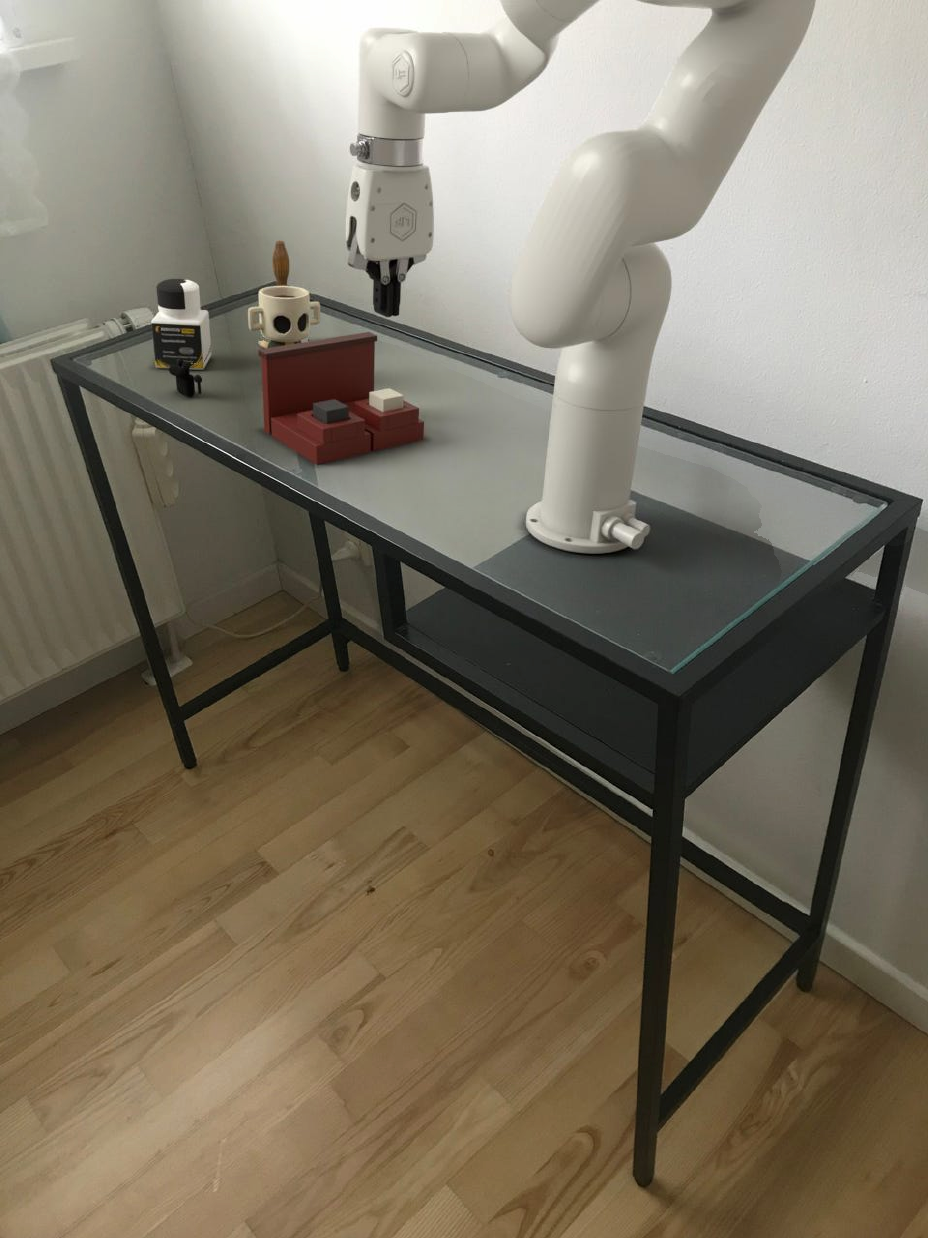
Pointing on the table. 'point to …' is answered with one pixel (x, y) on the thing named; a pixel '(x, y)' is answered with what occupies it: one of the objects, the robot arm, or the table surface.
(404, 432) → the red white-inset block
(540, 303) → the robot arm
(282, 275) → the hand bell
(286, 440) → the red grey-inset block
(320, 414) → the ebony key
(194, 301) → the medicine bottle
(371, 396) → the ivory key
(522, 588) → the table surface
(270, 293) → the character mug
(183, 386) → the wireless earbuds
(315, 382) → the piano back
